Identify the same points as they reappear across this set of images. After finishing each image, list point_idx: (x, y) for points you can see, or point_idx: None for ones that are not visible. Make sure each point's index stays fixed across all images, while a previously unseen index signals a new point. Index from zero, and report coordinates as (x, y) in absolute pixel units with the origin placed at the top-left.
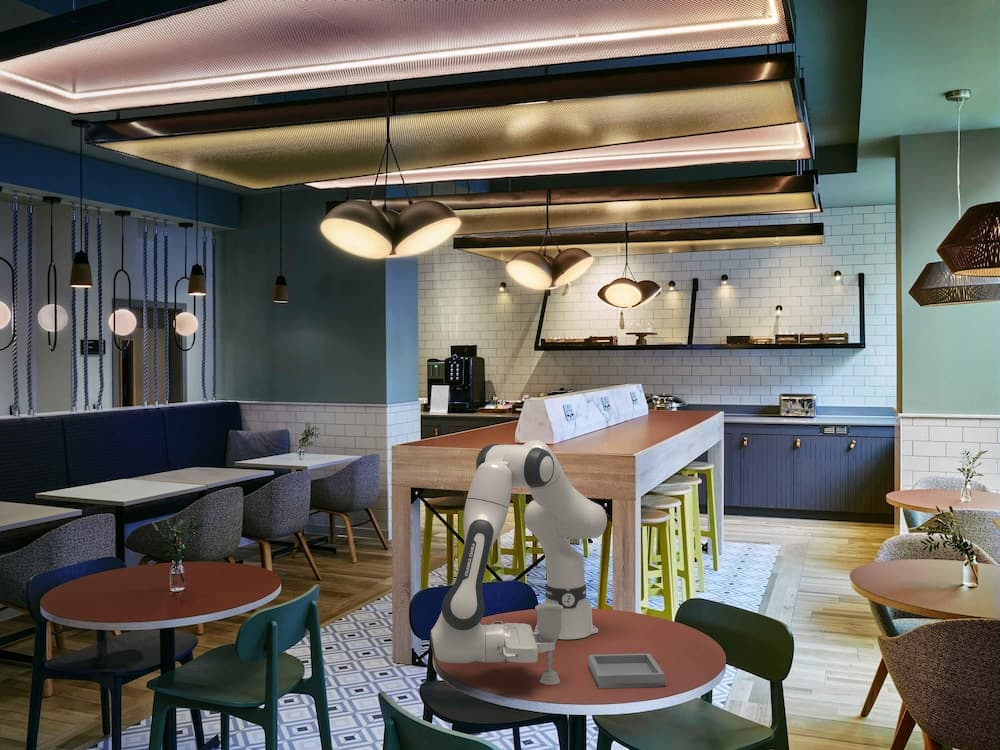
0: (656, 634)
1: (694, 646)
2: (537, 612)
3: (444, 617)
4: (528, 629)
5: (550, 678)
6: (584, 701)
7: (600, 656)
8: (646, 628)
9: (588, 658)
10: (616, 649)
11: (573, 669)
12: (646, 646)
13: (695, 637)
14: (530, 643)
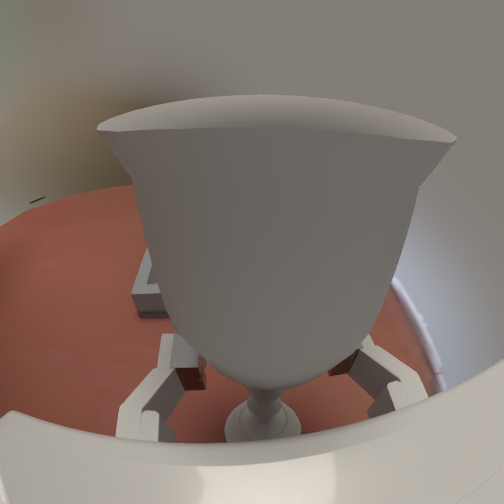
0: (45, 221)
1: (109, 195)
2: (370, 204)
3: None
4: (104, 464)
5: (294, 421)
6: (405, 329)
7: (150, 272)
8: (21, 229)
9: (136, 301)
10: (65, 262)
11: (152, 354)
12: (78, 230)
13: (81, 196)
14: (491, 404)
